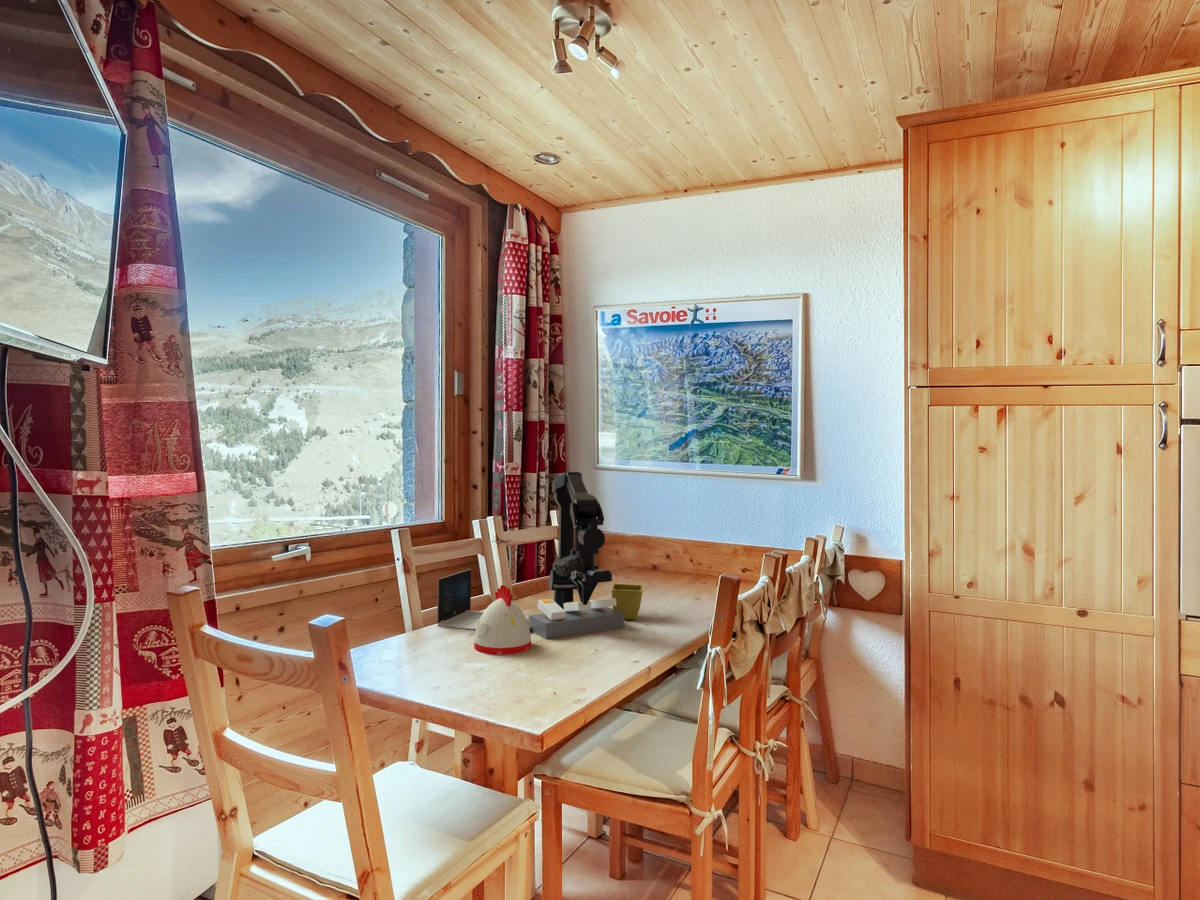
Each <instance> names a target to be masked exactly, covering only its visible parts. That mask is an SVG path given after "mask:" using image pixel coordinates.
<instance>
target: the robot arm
mask: <svg viewBox="0 0 1200 900" xmlns="http://www.w3.org/2000/svg"><path fill="white" fill-rule="evenodd" d="M551 493H552V494H553V499H554V502H555V503H556V504H557V507H558V543H557V545H558V550H557V551H558V552H557V553H558V554H557V557H556V558H555V559H554V561H553V563H552V569H551V570H550V575H549V578H548V588H549V589H550V591H553V601H555V602H556V603H557V604H558V605H559V606H560V607H561V608H562V609H563V610H564V604H563V603H567V602H574V590H577V593H578V597H579V600H580V601H579V602H583V605H587V603H588V601H589V600H591V597H592V595H593V593H594V591H595V589H596V587H597V585H598V583H607V582H613V573H612V571H610V570H609V569H605V568H599V564H596V554H597V555H598V554H600V553H599V551H600V549H601V548H602V547H603V546H604V544H605V542H606V537H605V534H604V532H603V531H602V530H601V529H599V527H598V526H604V520H605V517H604V512H603V508H602V506H601V503H600V502H599V501H598V499H597V498H596V496H594V495H593V494H590V493H589V492H588V490H587V488H586V485H585V483H584V482H583V476H582V472H581V471H580V472H579V471H564V472H562V474H561V475H559V476H556V477H554V479H553V481H552V482H551Z"/></svg>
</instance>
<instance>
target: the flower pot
mask: <svg viewBox="0 0 1200 900" xmlns="http://www.w3.org/2000/svg"><path fill="white" fill-rule="evenodd" d="M643 589H644V585H643V584H630V583H613V584H612V587H611V590H610V591H611V598H616V604H617V606H612V609H614V610H617V611H620V612H623V613H624V620H631V621H635V620H636V619H637V616H638V615H639V612H640V609H641V604H642V597H643Z"/></svg>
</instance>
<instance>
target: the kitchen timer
mask: <svg viewBox="0 0 1200 900" xmlns="http://www.w3.org/2000/svg"><path fill="white" fill-rule="evenodd" d="M494 596H495V600H494V601H493V602H491V603H490V604H489V605H488V606H487V607H486V608H485V610H484V611H483V612H484V613H483V614H482V616H481V618H480V620H477V622H476V630H475V634H474V640H473V643H474V644H473V645H474V646H473V648H474V650H475V651H477V652H479V653H482V654H487V655H497V656H498V655H499V656H500V655H501V656H502V655H503V656H504V655H514V654H515V655H516V654H520V653H523V652H526V651H529V649H530V648H532V637H531V635H532V634H531V632H530V631H529V629H530V621H529V616H525V614H524V612H523V611H522V609H521V608H520V606H519V605H518V604H517V603H516V602H514V601H513V596H514V594H513V593H512V594H511V588H510V587H509V588H508V587H507V585H505V584H502V585H500V586H499V588H497V591H494Z"/></svg>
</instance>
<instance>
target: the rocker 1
mask: <svg viewBox="0 0 1200 900" xmlns="http://www.w3.org/2000/svg"><path fill="white" fill-rule="evenodd" d="M536 606H537V608H538V609H539V610H540V611H541V612H542V614H543V613H544V614H545V615H546V616H547V617H548V618H549V619H550V620H556V619H563V618H565V611H564V610H563V609H562V608H561V607H560V606H559V605H558V604H557V603H556V602H555V601H554V599H553V598H546V599H545V598H544V599H538V600H537V605H536Z"/></svg>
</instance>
